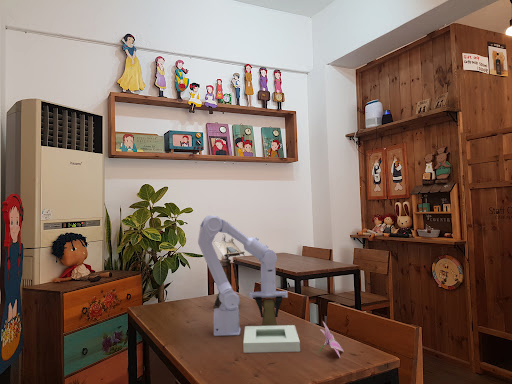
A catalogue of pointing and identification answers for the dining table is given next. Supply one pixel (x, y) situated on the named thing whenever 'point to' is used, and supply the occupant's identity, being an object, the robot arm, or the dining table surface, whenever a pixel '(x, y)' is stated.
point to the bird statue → (226, 258)
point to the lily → (330, 340)
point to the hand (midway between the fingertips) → (269, 316)
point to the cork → (269, 313)
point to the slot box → (271, 339)
